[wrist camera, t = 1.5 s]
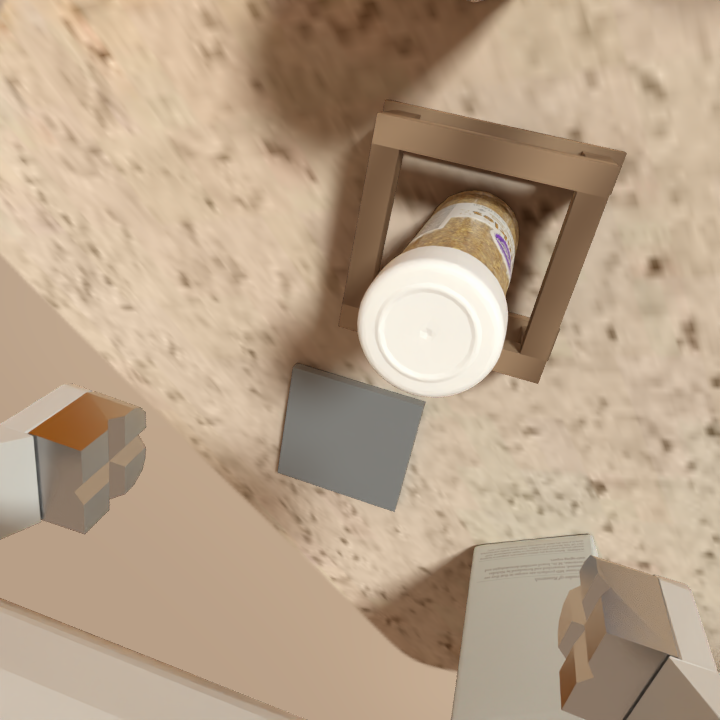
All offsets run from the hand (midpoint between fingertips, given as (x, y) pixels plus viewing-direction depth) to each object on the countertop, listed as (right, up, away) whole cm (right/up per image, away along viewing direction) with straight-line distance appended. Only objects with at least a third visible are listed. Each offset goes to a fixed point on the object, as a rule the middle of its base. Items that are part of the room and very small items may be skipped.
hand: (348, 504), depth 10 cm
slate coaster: (-1, -2, +26) cm, 26 cm away
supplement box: (+12, -11, +27) cm, 31 cm away
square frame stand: (+6, +9, +19) cm, 22 cm away
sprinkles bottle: (+6, +9, +19) cm, 22 cm away
